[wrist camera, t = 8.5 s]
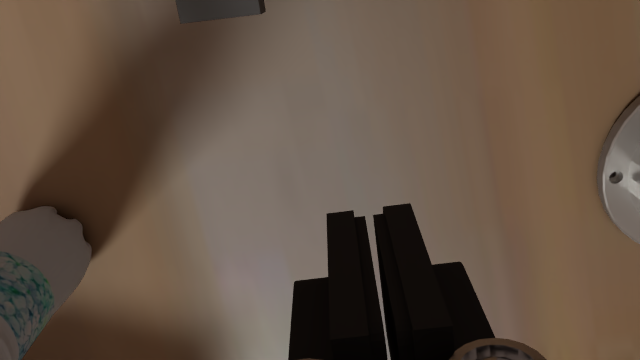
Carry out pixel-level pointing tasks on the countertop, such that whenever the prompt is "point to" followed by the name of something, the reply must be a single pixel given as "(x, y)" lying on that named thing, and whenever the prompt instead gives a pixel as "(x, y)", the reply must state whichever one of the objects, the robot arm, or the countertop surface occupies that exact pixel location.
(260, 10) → the trough
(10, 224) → the bottle
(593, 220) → the countertop surface
